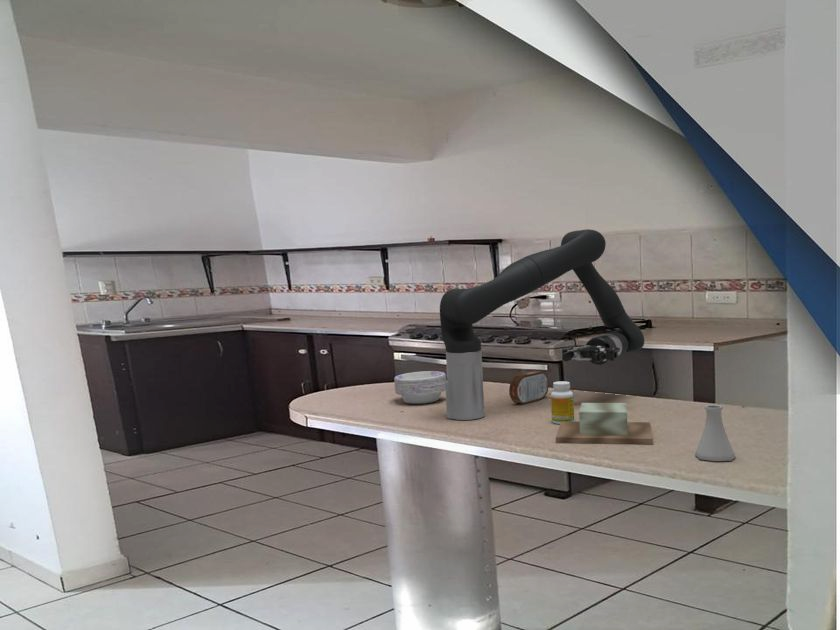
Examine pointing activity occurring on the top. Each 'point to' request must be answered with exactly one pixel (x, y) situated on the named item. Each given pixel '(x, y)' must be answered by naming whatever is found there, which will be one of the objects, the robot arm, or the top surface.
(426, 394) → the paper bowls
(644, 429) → the pedestal
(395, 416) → the top surface
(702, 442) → the flask
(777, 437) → the top surface
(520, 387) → the tin
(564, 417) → the supplement bottle
